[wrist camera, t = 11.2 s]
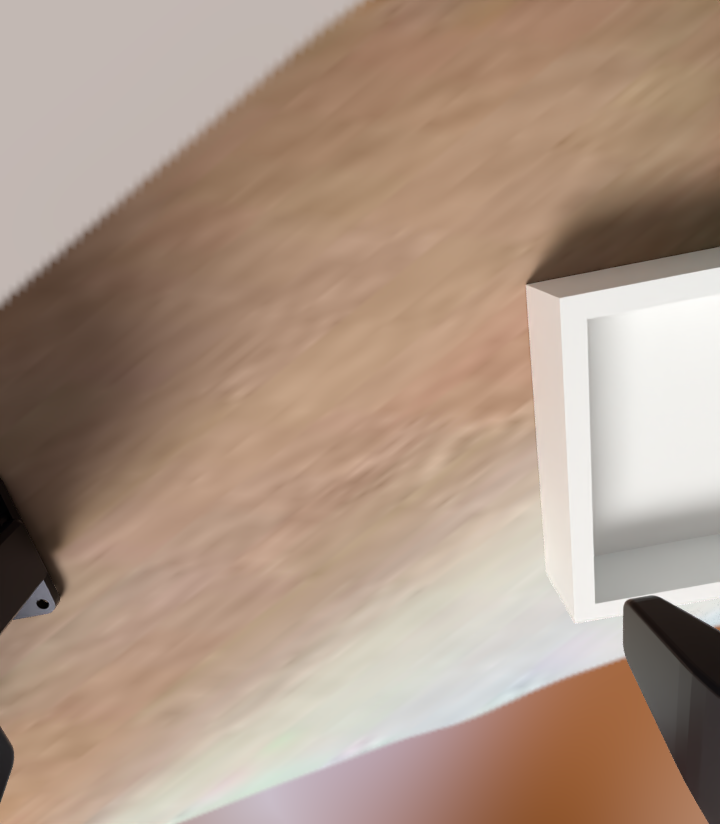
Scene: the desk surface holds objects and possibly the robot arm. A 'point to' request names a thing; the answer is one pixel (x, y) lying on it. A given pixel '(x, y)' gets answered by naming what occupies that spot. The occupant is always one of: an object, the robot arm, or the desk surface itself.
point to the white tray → (629, 431)
